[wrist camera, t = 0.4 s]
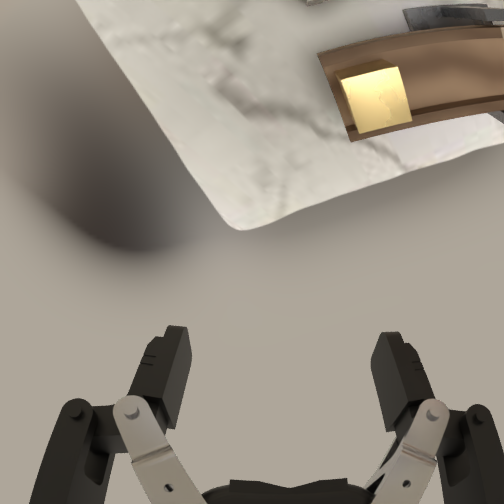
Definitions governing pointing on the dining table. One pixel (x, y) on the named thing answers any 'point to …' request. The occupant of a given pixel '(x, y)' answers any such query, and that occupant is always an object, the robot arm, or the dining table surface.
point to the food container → (314, 2)
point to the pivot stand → (454, 21)
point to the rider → (374, 95)
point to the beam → (430, 72)
